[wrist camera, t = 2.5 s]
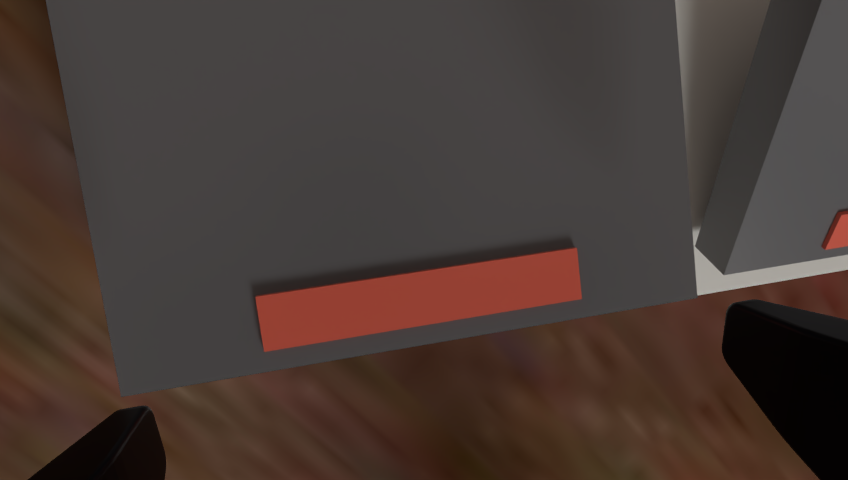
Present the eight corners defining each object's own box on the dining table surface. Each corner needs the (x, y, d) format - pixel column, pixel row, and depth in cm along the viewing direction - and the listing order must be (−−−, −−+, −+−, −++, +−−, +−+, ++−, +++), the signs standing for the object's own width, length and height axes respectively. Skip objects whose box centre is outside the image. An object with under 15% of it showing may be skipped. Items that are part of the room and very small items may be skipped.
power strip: (1016, -129, 17) (1207, -170, 13) (932, 208, 20) (1063, 247, 17) (80, -78, 13) (-5, -116, 9) (184, 326, 16) (152, 407, 13)
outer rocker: (637, -41, 12) (674, -68, 11) (663, 287, 13) (701, 299, 12) (73, 1, 10) (38, -25, 9) (143, 374, 11) (119, 399, 10)
